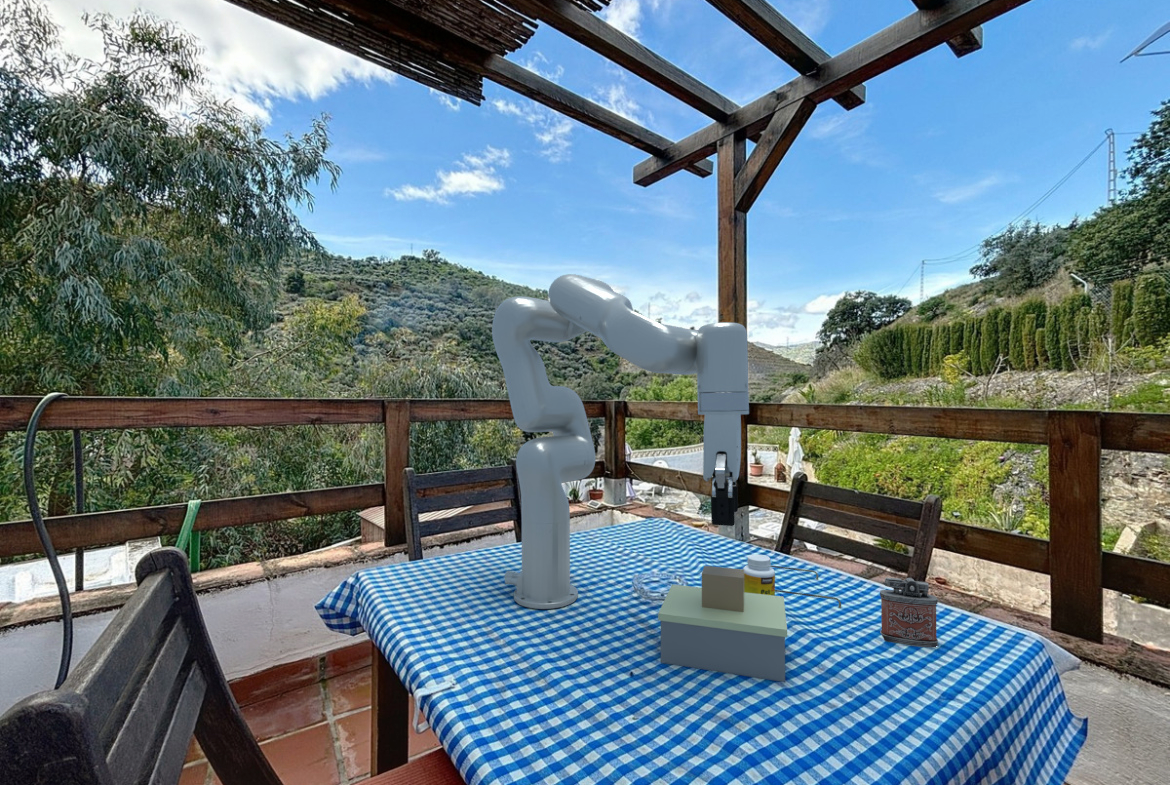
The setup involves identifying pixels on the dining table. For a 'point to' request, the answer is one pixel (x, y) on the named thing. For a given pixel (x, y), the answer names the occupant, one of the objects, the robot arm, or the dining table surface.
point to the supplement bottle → (759, 575)
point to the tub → (723, 650)
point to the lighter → (908, 613)
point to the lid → (725, 605)
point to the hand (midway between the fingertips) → (725, 517)
